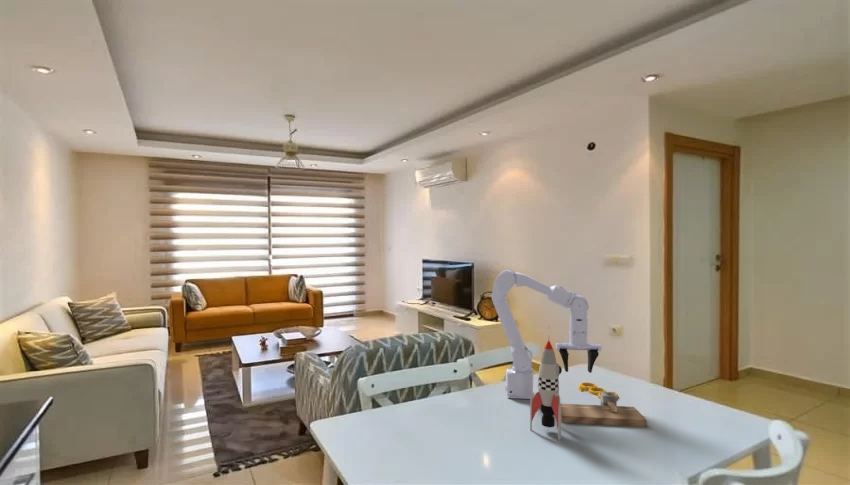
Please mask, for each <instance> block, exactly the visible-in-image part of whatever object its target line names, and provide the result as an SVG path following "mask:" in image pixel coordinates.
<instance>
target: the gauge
mask: <svg viewBox="0 0 850 485" xmlns="http://www.w3.org/2000/svg"><path fill="white" fill-rule="evenodd" d="M600 392H601V399H600V405H603V406H609V408H610V410H611V411H612V412H617V408H616V406H618V405H617V404H618V400H617V399H618V397H617V396H616V395H615V393H614V392H615V391H606V392H602V391H600Z"/></svg>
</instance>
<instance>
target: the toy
mask: <svg viewBox="0 0 850 485" xmlns="http://www.w3.org/2000/svg"><path fill="white" fill-rule="evenodd" d="M548 328H550V325H548ZM542 350H543V351H542V355H541V359H540V363H539V364H540V365H539V368H538V374H537V375H538V379H537V381H538V382H537V388H538V392H536V393H534V395H535V396H534V398H533V399H532V390H531V398H530V399H529V402H530V404H529V405H530V406H529V410H530V411H529V415H530V417H529V430H530V431H533V430H532V429H533V420H534V418H535V416H536V413H537V412H538V411H539V409H540V411H541V414H542V416H541V425H542V427H545V428H553V427H555V422H556V427H557V430H558V431H557V433H558V434H557V437H558V438H557V439H558V441H561V440H562V439H561V438H562V437H561V433H562V432H561V431H562V429H561V428H562V425H561V424H562V421H561V406H560V404H561V397H560V383H559V382H560V381H559V376H560V375H561V374H562V371H563V369H562V367H561V365H560V364H559V363H557V359H556V355H555V350H554V347H553V346H552V343H551V341H550V336H548V340H547V342H546V344H545V346H544V348H543V349H542ZM554 416H555V417H554ZM555 420H556V421H555Z"/></svg>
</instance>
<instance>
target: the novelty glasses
mask: <svg viewBox="0 0 850 485" xmlns="http://www.w3.org/2000/svg"><path fill="white" fill-rule="evenodd" d="M578 390H579V391H580V392H582V391H583V392H584V391H585V392H587V391H588V393H589V394H591V395H594V396H597V397H598V399H600V400H601V392H607V390H606V389H605V388H601V387H598V385H596V384H595V383H592V382H581V383H580V384H579V385H578ZM613 392H614V393H615V395H616V396H617V398H618V394H617V392H616V391H613Z"/></svg>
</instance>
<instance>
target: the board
mask: <svg viewBox="0 0 850 485" xmlns="http://www.w3.org/2000/svg"><path fill="white" fill-rule="evenodd" d="M560 406H561V424H562V423H563V424H583V425H600V426H601V425H603V426H604V425H605V426H627V427H645V428H646V427H647V425H648V424H647V423H648V422H647V421H648V420H647V419H646V417H644V416H643V414H642V413H641V412H640V411H639V410H638V409H637V408H636V407H635V406H624V405H622V406H621V405H617V406H616V408H617V412H612V411H611V410H610V408H609V406H603V405H601V404H599V405H598V404H577V403H576V404H575V403H560Z"/></svg>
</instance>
